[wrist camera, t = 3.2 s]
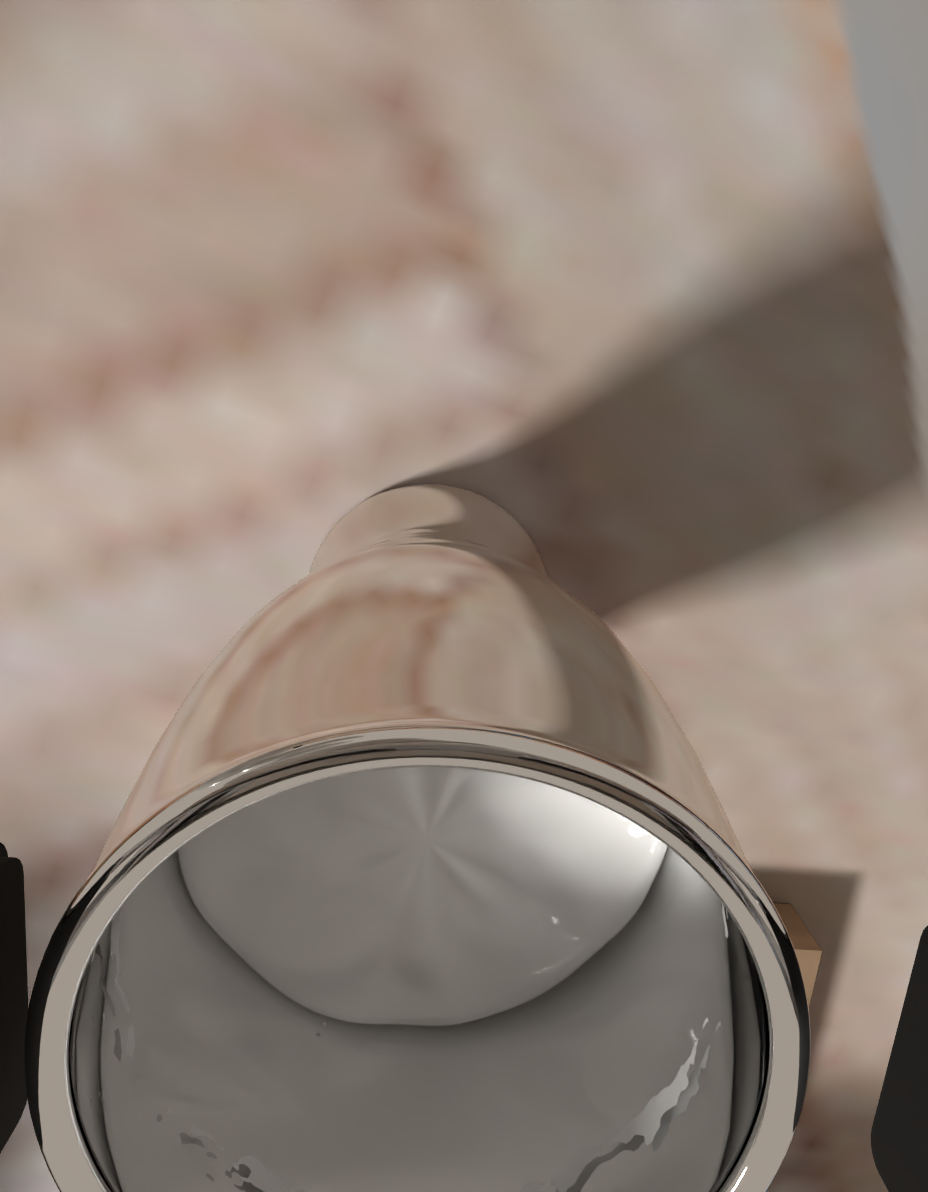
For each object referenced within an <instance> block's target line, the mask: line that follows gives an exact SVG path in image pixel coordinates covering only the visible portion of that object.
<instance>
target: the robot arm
mask: <svg viewBox="0 0 928 1192" xmlns="http://www.w3.org/2000/svg"><path fill="white" fill-rule="evenodd" d="M27 1016H28V986H27V957H26V929H25V900H24V873H23V866H22V863H21V861H20V860H19V859H18V858H13V857H8V853H7V850H6V848H5V846H4V845H3V844H2V843H0V1153H1V1151H2V1150H3V1148H4V1146H5V1144H6V1143H7V1141H8V1139H9V1137H10V1136H11V1134H12V1132H13V1131H14V1129H15V1127H16V1125H17V1124H18V1122H19V1120H20V1118H21V1116H22V1113H23V1110H24V1108H25V1105H26V1102H27V1091H26V1082H25V1069H24V1045H25V1031H26V1022H27ZM871 1147H872V1153H873V1158H874V1161H875V1164H876V1167H877V1170H878V1172H879V1174H880V1176H881V1178H882V1180H883V1182H884V1183H885V1185H886V1187H887V1189H888V1191H889V1192H928V926H927V927H926V928H925V929H924V930H923V933H922V935H921V938H920V942H919V946H918V950H917V954H916V957H915V961H914V965H913V969H912V973H911V977H910V981H909V985H908V989H907V993H906V997H905V1001H904V1005H903V1008H902V1012H901V1016H900V1020H899V1024H898V1028H897V1032H896V1036H895V1040H894V1044H893V1048H892V1052H891V1056H890V1059H889V1063H888V1067H887V1071H886V1075H885V1079H884V1083H883V1087H882V1091H881V1095H880V1099H879V1103H878V1106H877V1110H876V1114H875V1118H874V1122H873V1126H872V1132H871Z"/></svg>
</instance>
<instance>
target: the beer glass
mask: <svg viewBox="0 0 928 1192" xmlns="http://www.w3.org/2000/svg"><path fill="white" fill-rule="evenodd" d="M810 1045H811V1040H810V1018H809V1009H808V1002H807V995H806V991H805V986H804V981H803V977H802V973H801V969H800V965H799V962H798V959H797V956H796V953H795V950H794V947H793V944H792V942H791V939H790V937H789V934H788V932H787V930H786V927H785V925H784V923H783V921H782V919H781V917H780V915H779V913H778V911H777V910H776V908H775V906H774V904H773V902H772V900H771V899H770V897H769V896H768V894H767V892H766V891H765V889H764V888H763V886H762V885H761V883H760V882H759V880H758V879H757V878H756V876H755V875H754V873H753V872H752V870H751V868H750V866H749V864H748V862H747V860H746V858H745V856H744V853H743V851H742V849H741V847H740V845H739V842H738V840H737V838H736V836H735V833H734V831H733V829H732V827H731V825H730V822H729V820H728V818H727V816H726V814H725V812H724V809H723V807H722V805H721V803H720V801H719V799H718V797H717V795H716V793H715V791H714V789H713V787H712V785H711V783H710V781H709V779H708V777H707V775H706V773H705V771H704V769H703V767H702V765H701V763H700V761H699V759H698V757H697V755H696V753H695V751H694V749H693V747H692V746H691V744H690V742H689V740H688V738H687V737H686V735H685V733H684V732H683V730H682V728H681V727H680V725H679V723H678V722H677V720H676V718H675V717H674V715H673V713H672V712H671V710H670V708H669V707H668V705H667V703H666V702H665V700H664V698H663V697H662V695H661V694H660V692H659V690H658V689H657V687H656V686H655V684H654V683H653V681H652V680H651V678H650V677H649V676H648V674H647V673H646V672H645V671H644V669H643V668H642V667H641V665H640V664H639V663H638V662H637V661H636V659H635V658H634V657H633V656H632V654H631V653H630V652H629V651H628V649H627V648H626V647H625V646H624V645H623V643H622V642H621V641H620V640H619V638H618V637H617V636H616V635H615V634H614V632H613V631H612V630H611V629H610V628H609V627H608V626H607V625H606V624H605V622H604V621H603V620H602V619H601V618H600V617H599V616H597V615H596V614H595V613H594V612H593V611H592V610H591V609H590V608H588V607H587V606H586V605H585V604H584V603H583V602H581V601H580V600H579V599H577V598H576V597H575V596H573V595H572V594H571V593H569V592H568V591H566V590H565V589H564V588H562V587H561V586H560V585H558V584H557V583H555V582H554V581H553V580H551V579H550V578H548V577H547V575H546V571H545V568H544V565H543V562H542V559H541V557H540V555H539V552H538V550H537V548H536V547H535V545H534V543H533V541H532V540H531V538H530V537H529V535H528V534H527V533H526V531H525V530H524V529H523V528H522V526H521V525H520V524H519V523H518V522H517V521H516V520H515V519H514V518H513V517H512V516H511V515H510V514H509V513H507V512H506V511H505V510H504V509H502V508H501V507H500V506H498V505H497V504H495V503H493V502H492V501H490V500H488V499H487V498H485V497H483V496H481V495H478V494H476V493H474V492H471V491H468V490H465V489H461V488H458V487H453V486H447V485H437V484H420V485H410V486H404V487H399V488H395V489H391V490H388V491H385V492H382V493H380V494H377V495H375V496H373V497H371V498H369V499H367V500H365V501H363V502H362V503H360V504H359V505H357V506H356V507H354V508H353V509H351V510H350V511H349V512H348V513H347V514H345V515H344V516H343V517H342V518H341V519H340V520H339V521H338V522H337V523H336V524H335V525H334V526H333V528H332V529H331V530H330V531H329V533H328V534H327V536H326V537H325V539H324V540H323V542H322V543H321V545H320V547H319V549H318V551H317V553H316V555H315V557H314V560H313V562H312V565H311V568H310V571H309V575H307V576H306V577H304V578H303V579H301V580H300V581H298V582H297V583H295V584H294V585H293V586H291V587H290V588H288V589H287V590H285V591H284V592H283V593H281V594H280V595H278V596H277V597H276V598H274V599H273V600H271V601H270V602H269V603H268V604H266V605H265V606H264V607H263V608H262V609H260V610H259V611H258V612H257V613H256V614H255V615H254V616H253V617H252V618H250V619H249V620H248V621H247V622H246V623H245V624H244V626H243V627H242V628H241V629H240V630H239V631H238V632H237V633H236V635H235V636H234V637H233V638H232V639H231V640H230V642H229V643H228V644H227V645H226V646H225V647H224V649H223V650H222V651H221V652H220V653H219V654H218V656H217V657H216V658H215V659H214V660H213V661H212V663H211V664H210V665H209V666H208V668H207V669H206V670H205V671H204V672H203V674H202V675H201V676H200V678H199V679H198V680H197V682H196V683H195V684H194V686H193V687H192V689H191V690H190V692H189V693H188V695H187V697H186V698H185V700H184V701H183V703H182V704H181V706H180V708H179V709H178V711H177V712H176V714H175V716H174V717H173V719H172V720H171V722H170V723H169V725H168V727H167V728H166V730H165V731H164V733H163V735H162V736H161V738H160V739H159V741H158V743H157V744H156V746H155V748H154V749H153V751H152V753H151V755H150V757H149V759H148V761H147V763H146V764H145V766H144V768H143V770H142V772H141V774H140V776H139V778H138V780H137V782H136V784H135V785H134V787H133V789H132V791H131V793H130V795H129V797H128V799H127V801H126V803H125V805H124V806H123V808H122V810H121V812H120V814H119V816H118V818H117V820H116V823H115V825H114V827H113V829H112V831H111V833H110V835H109V837H108V839H107V841H106V843H105V846H104V848H103V850H102V852H101V854H100V856H99V858H98V860H97V862H96V864H95V866H94V868H93V870H92V872H91V874H90V876H89V877H88V878H87V880H86V881H85V882H84V884H83V885H82V886H81V888H80V889H79V890H78V892H77V893H76V895H75V896H74V898H73V900H72V901H71V903H70V904H69V906H68V907H67V909H66V911H65V913H64V914H63V916H62V918H61V919H60V921H59V923H58V925H57V927H56V929H55V931H54V933H53V935H52V937H51V939H50V942H49V944H48V946H47V949H46V951H45V953H44V956H43V959H42V962H41V964H40V967H39V970H38V973H37V977H36V980H35V983H34V987H33V991H32V995H31V999H30V1003H29V1009H28V1016H27V1022H26V1031H25V1045H24V1069H25V1082H26V1091H27V1098H28V1104H29V1109H30V1114H31V1118H32V1122H33V1126H34V1129H35V1133H36V1137H37V1140H38V1143H39V1146H40V1149H41V1151H42V1154H43V1156H44V1159H45V1162H46V1164H47V1166H48V1168H49V1171H50V1173H51V1175H52V1177H53V1179H54V1181H55V1183H56V1185H57V1187H58V1189H59V1190H60V1192H767V1190H768V1188H769V1187H770V1185H771V1183H772V1181H773V1180H774V1178H775V1176H776V1174H777V1172H778V1170H779V1168H780V1166H781V1164H782V1162H783V1160H784V1158H785V1156H786V1153H787V1151H788V1149H789V1146H790V1144H791V1141H792V1139H793V1136H794V1133H795V1130H796V1127H797V1124H798V1121H799V1117H800V1114H801V1110H802V1106H803V1102H804V1097H805V1093H806V1087H807V1081H808V1075H809V1065H810Z"/></svg>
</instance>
